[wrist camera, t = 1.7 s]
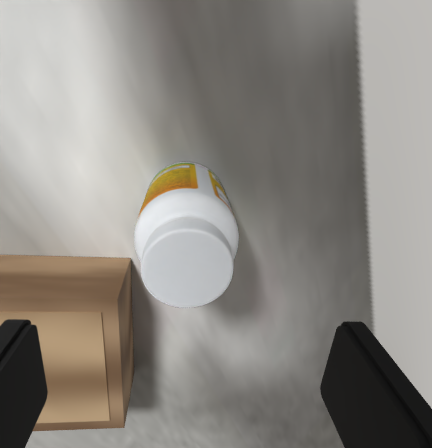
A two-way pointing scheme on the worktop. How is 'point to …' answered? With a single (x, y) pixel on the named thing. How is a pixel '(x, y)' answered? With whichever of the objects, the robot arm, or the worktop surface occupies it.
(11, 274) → the pedestal
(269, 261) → the worktop surface
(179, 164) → the supplement bottle
